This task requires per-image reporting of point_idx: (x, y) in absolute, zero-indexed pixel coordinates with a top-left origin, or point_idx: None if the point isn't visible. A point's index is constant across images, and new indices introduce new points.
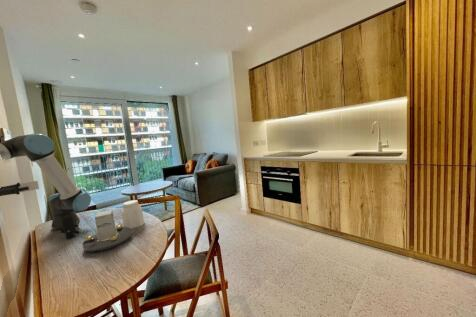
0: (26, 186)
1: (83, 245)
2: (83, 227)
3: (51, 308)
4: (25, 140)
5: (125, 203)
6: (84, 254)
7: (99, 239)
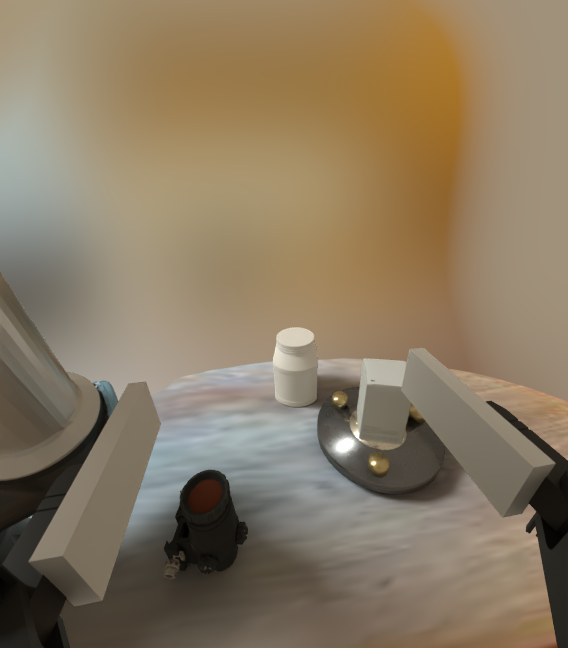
0: (483, 412)
1: (411, 482)
2: (142, 509)
3: None
4: None
5: (295, 343)
6: (424, 497)
7: (402, 440)
